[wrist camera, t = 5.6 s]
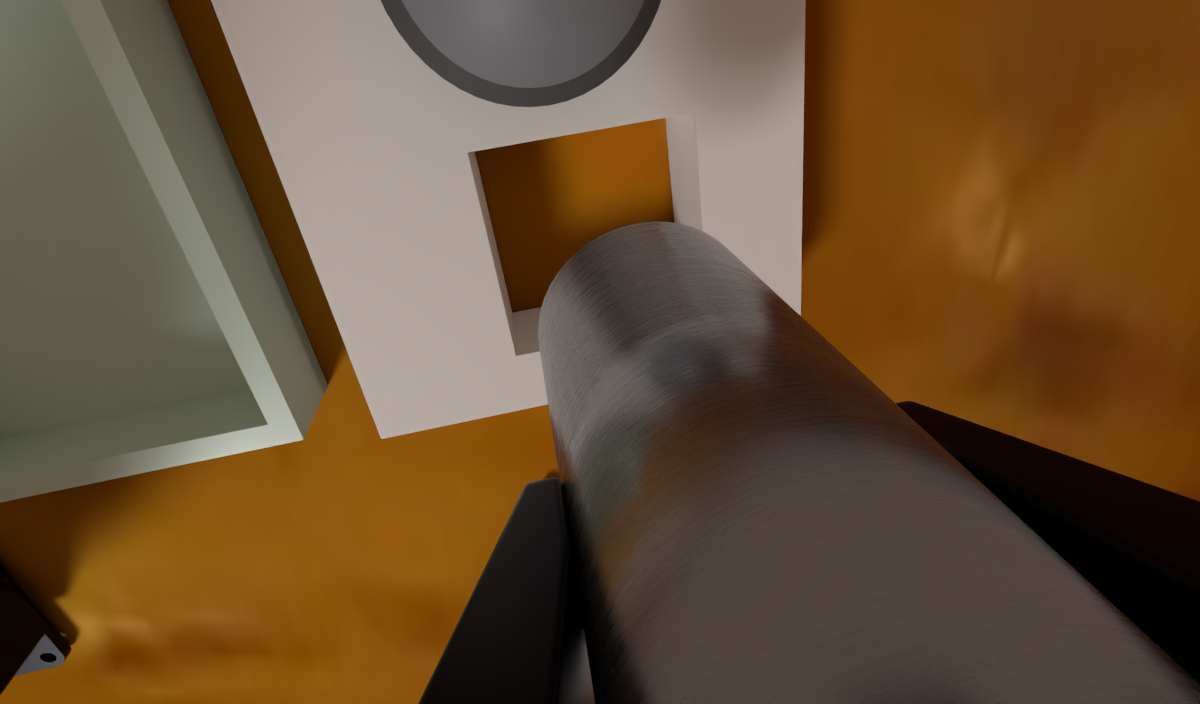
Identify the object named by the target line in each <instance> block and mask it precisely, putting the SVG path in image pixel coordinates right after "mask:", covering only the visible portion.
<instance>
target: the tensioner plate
mask: <svg viewBox="0 0 1200 704" xmlns="http://www.w3.org/2000/svg"><path fill="white" fill-rule="evenodd" d="M211 2H212V4H213V7H214V9H215V12H216V15H217V17H218V20H219V22H220V25H221V27H222V30H223V33H224V35H225V38H226V40H227V43H228V46H229V48H230V51H231V53H232V56H233V58H234V61H235V64H236V66H237V69H238V71H239V74H240V76H241V79H242V82H243V84H244V87H245V89H246V92H247V94H248V97H249V100H250V102H251V105H252V107H253V110H254V112H255V115H256V118H257V120H258V123H259V125H260V128H261V131H262V133H263V136H264V138H265V141H266V143H267V146H268V149H269V151H270V154H271V156H272V159H273V161H274V164H275V167H276V169H277V172H278V174H279V177H280V179H281V182H282V185H283V187H284V190H285V192H286V195H287V198H288V200H289V203H290V205H291V208H292V210H293V213H294V216H295V218H296V221H297V223H298V226H299V228H300V231H301V234H302V236H303V239H304V241H305V244H306V246H307V249H308V252H309V254H310V257H311V259H312V262H313V265H314V267H315V270H316V272H317V275H318V277H319V280H320V283H321V285H322V288H323V290H324V293H325V295H326V298H327V301H328V303H329V306H330V308H331V311H332V313H333V316H334V319H335V321H336V324H337V326H338V329H339V331H340V334H341V337H342V339H343V342H344V344H345V347H346V350H347V352H348V355H349V357H350V360H351V362H352V365H353V368H354V370H355V373H356V375H357V378H358V380H359V383H360V386H361V388H362V391H363V393H364V396H365V398H366V401H367V404H368V406H369V409H370V411H371V414H372V417H373V419H374V422H375V424H376V427H377V429H378V432H379V435H380V437H381V439H384V438H389V437H394V436H398V435H403V434H408V433H413V432H418V431H422V430H427V429H432V428H437V427H441V426H446V425H451V424H456V423H461V422H465V421H470V420H475V419H480V418H485V417H489V416H494V415H499V414H504V413H508V412H513V411H518V410H523V409H528V408H532V407H537V406H542V405H547V404H548V400H547V393H546V387H545V381H544V374H543V368H542V362H541V355H540V349H539V341H538V323H539V316H540V310H541V307H538V308H533V309H528V310H523V311H518V312H513V313H512V309H511V305H510V301H509V296H508V292H507V288H506V283H505V279H504V275H503V271H502V266H501V262H500V258H499V253H498V249H497V245H496V241H495V236H494V232H493V228H492V223H491V219H490V215H489V210H488V206H487V202H486V198H485V193H484V189H483V185H482V180H481V176H480V172H479V168H478V163H477V159H476V155H475V151H480V150H486V149H491V148H497V147H503V146H508V145H514V144H520V143H525V142H531V141H536V140H542V139H548V138H553V137H559V136H565V135H570V134H576V133H582V132H587V131H593V130H599V129H604V128H610V127H616V126H621V125H627V124H633V123H638V122H644V121H649V120H655V119H661V118H665V119H666V131H667V142H668V154H669V165H670V177H671V189H672V200H673V212H674V223H679V224H683V225H687V226H690V227H693V228H696V229H698V230H700V231H703V232H705V233H707V234H709V235H710V236H712V237H713V238H715V239H716V240H718V241H719V242H721V243H722V244H723V245H724V246H725V247H726V248H727V249H728V250H730V251H731V252H732V253H733V254H734V255H735V256H736V257H737V258H738V259H739V260H740V261H741V262H743V263H744V264H745V265H746V266H747V267H748V268H749V269H750V270H751V271H752V272H753V273H754V274H756V275H757V276H758V277H759V278H760V279H761V280H762V281H763V282H764V283H765V284H766V285H768V286H769V287H770V288H771V289H772V290H773V291H774V292H775V293H776V294H777V295H778V296H779V297H781V298H782V299H783V300H784V301H785V302H786V303H787V304H788V305H789V306H790V307H791V308H792V309H794V310H795V311H796V312H797V313H798V314H799V315H800V316H801V262H802V198H803V134H804V71H805V7H806V0H211Z"/></svg>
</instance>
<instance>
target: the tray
mask: <svg viewBox="0 0 1200 704" xmlns="http://www.w3.org/2000/svg"><path fill="white" fill-rule="evenodd" d="M327 387H328V384H327V382H326V379H325V377H324V374H323V372H322V370H321V367H320V365H319V363H318V360H317V358H316V355H315V353H314V351H313V348H312V346H311V343H310V341H309V339H308V336H307V334H306V331H305V329H304V327H303V324H302V322H301V319H300V317H299V315H298V312H297V310H296V307H295V305H294V303H293V300H292V298H291V296H290V293H289V291H288V288H287V286H286V284H285V281H284V279H283V276H282V274H281V272H280V269H279V267H278V264H277V262H276V260H275V257H274V255H273V252H272V250H271V248H270V245H269V243H268V240H267V238H266V236H265V233H264V231H263V229H262V226H261V224H260V221H259V219H258V217H257V214H256V212H255V209H254V207H253V205H252V202H251V200H250V197H249V195H248V193H247V190H246V188H245V185H244V183H243V181H242V178H241V176H240V173H239V171H238V169H237V166H236V164H235V162H234V159H233V157H232V154H231V152H230V150H229V147H228V145H227V142H226V140H225V138H224V135H223V133H222V130H221V128H220V126H219V123H218V121H217V118H216V116H215V114H214V111H213V109H212V106H211V104H210V102H209V99H208V97H207V95H206V92H205V90H204V87H203V85H202V83H201V80H200V78H199V75H198V73H197V71H196V68H195V66H194V63H193V61H192V59H191V56H190V54H189V51H188V49H187V47H186V44H185V42H184V39H183V37H182V35H181V32H180V30H179V28H178V25H177V23H176V20H175V18H174V16H173V13H172V11H171V8H170V6H169V4H168V1H167V0H0V503H1V502H6V501H10V500H15V499H20V498H25V497H30V496H35V495H39V494H44V493H49V492H54V491H59V490H63V489H68V488H73V487H78V486H83V485H88V484H92V483H97V482H102V481H107V480H112V479H117V478H121V477H126V476H131V475H136V474H141V473H146V472H150V471H155V470H160V469H165V468H170V467H175V466H179V465H184V464H189V463H194V462H199V461H204V460H208V459H213V458H218V457H223V456H228V455H232V454H237V453H242V452H247V451H252V450H257V449H261V448H266V447H271V446H276V445H281V444H286V443H290V442H295V441H300V440H304V438H305V436H306V433H307V431H308V429H309V427H310V424H311V422H312V420H313V418H314V416H315V413H316V411H317V409H318V407H319V404H320V402H321V400H322V398H323V396H324V393H325V391H326V389H327Z"/></svg>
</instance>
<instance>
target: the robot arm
mask: <svg viewBox="0 0 1200 704" xmlns="http://www.w3.org/2000/svg"><path fill="white" fill-rule="evenodd" d="M896 404H897V405H898V406H899V407H900V408H901V409H902V410H903V411H904V412H905V413H906V414H908V415H909V416H910V417H911V418H912V419H913V420H914V421H915V422H916V423H917V424H918V425H919V426H921V427H922V428H923V429H924V430H925V431H926V432H927V433H928V434H929V435H930V436H931V437H932V438H934V439H935V440H936V441H937V442H938V443H939V444H940V445H941V446H942V447H943V448H944V449H945V450H947V451H948V452H949V453H950V454H951V455H952V456H953V457H954V458H955V459H956V460H957V461H959V462H960V463H961V464H962V465H963V466H964V467H965V468H966V469H967V470H968V471H969V472H970V473H972V474H973V475H974V476H975V477H976V478H977V479H978V480H979V481H980V482H981V483H982V484H983V485H985V486H986V487H987V488H988V489H989V490H990V491H991V492H992V493H993V494H994V495H995V496H996V497H998V498H999V499H1000V500H1001V501H1002V502H1003V503H1004V504H1005V505H1006V506H1007V507H1008V508H1010V509H1011V510H1012V511H1013V512H1014V513H1015V514H1016V515H1017V516H1018V517H1019V518H1020V519H1021V520H1023V521H1024V522H1025V523H1026V524H1027V525H1028V526H1029V527H1030V528H1031V529H1032V530H1033V531H1034V532H1036V533H1037V534H1038V535H1039V536H1040V537H1041V538H1042V539H1043V540H1044V541H1045V542H1046V543H1048V544H1049V545H1050V546H1051V547H1052V548H1053V549H1054V550H1055V551H1056V552H1057V553H1058V554H1059V555H1061V556H1062V557H1063V558H1064V559H1065V560H1066V561H1067V562H1068V563H1069V564H1070V565H1071V566H1072V567H1074V568H1075V569H1076V570H1077V571H1078V572H1079V573H1080V574H1081V575H1082V576H1083V577H1084V578H1085V579H1087V580H1088V581H1089V582H1090V583H1091V584H1092V585H1093V586H1094V587H1095V588H1096V589H1097V590H1099V591H1100V592H1101V593H1102V594H1103V595H1104V596H1105V597H1106V598H1107V599H1108V600H1109V601H1110V602H1112V603H1113V604H1114V605H1115V606H1116V607H1117V608H1118V609H1119V610H1120V611H1121V612H1122V613H1123V614H1125V615H1126V616H1127V617H1128V618H1129V619H1130V620H1131V621H1132V622H1133V623H1134V624H1135V625H1136V626H1138V627H1139V628H1140V629H1141V630H1142V631H1143V632H1144V633H1145V634H1146V635H1147V636H1148V637H1150V638H1151V639H1152V640H1153V641H1154V642H1155V643H1156V644H1157V645H1158V646H1159V647H1160V648H1161V649H1163V650H1164V651H1165V652H1166V653H1167V654H1168V655H1169V656H1170V657H1171V658H1172V659H1173V660H1174V661H1176V662H1177V663H1178V664H1179V665H1180V666H1181V667H1182V668H1183V669H1184V670H1185V671H1186V672H1187V673H1189V674H1190V675H1191V676H1192V677H1193V678H1194V679H1195V680H1196V681H1197V682H1198V683H1199V684H1200V502H1199V501H1196V500H1193V499H1191V498H1188V497H1185V496H1182V495H1179V494H1176V493H1173V492H1170V491H1168V490H1165V489H1162V488H1159V487H1156V486H1153V485H1150V484H1148V483H1145V482H1142V481H1139V480H1136V479H1133V478H1130V477H1127V476H1125V475H1122V474H1119V473H1116V472H1113V471H1110V470H1107V469H1105V468H1102V467H1099V466H1096V465H1093V464H1090V463H1087V462H1084V461H1082V460H1079V459H1076V458H1073V457H1070V456H1067V455H1064V454H1062V453H1059V452H1056V451H1053V450H1050V449H1047V448H1044V447H1041V446H1039V445H1036V444H1033V443H1030V442H1027V441H1024V440H1021V439H1018V438H1016V437H1013V436H1010V435H1007V434H1004V433H1001V432H998V431H996V430H993V429H990V428H987V427H984V426H981V425H978V424H975V423H973V422H970V421H967V420H964V419H961V418H958V417H955V416H953V415H950V414H947V413H944V412H941V411H938V410H935V409H932V408H930V407H927V406H924V405H921V404H918V403H915V402H912V401H905V402H900V403H896ZM70 651H71V647H70V645H69V644H68V643H67V642H66V640H65V639H64V638H63V637H62V636H61V635H60V633H59V632H58V631H57V630H56V629H55V628H54V626H53V625H52V624H51V623H50V622H49V621H48V620H47V618H46V617H45V616H44V615H43V614H42V613H41V611H40V610H39V609H38V608H37V607H36V606H35V604H34V603H33V602H32V601H31V600H30V599H29V597H28V596H27V595H26V594H25V593H24V592H23V590H22V589H21V588H20V587H19V586H18V585H17V584H16V582H15V581H14V580H13V579H12V578H11V577H10V575H9V574H8V573H7V572H6V571H5V570H4V568H3V567H2V566H1V565H0V695H1V694H2V692H3V691H4V690H5V688H6V687H7V685H8V684H9V683H10V681H11V680H12V679H13V677H14V676H16V675H20V674H24V673H29V672H33V671H38V670H42V669H46V668H51V667H55V666H58V665H61V664H62V663H63V662H64V661H65V659H66V658H67V656H68V655H69V653H70ZM419 704H595V699H594V692H593V686H592V680H591V673H590V667H589V661H588V654H587V648H586V641H585V635H584V629H583V622H582V616H581V609H580V602H579V595H578V588H577V579H576V571H575V563H574V557H573V550H572V544H571V538H570V532H569V525H568V519H567V513H566V507H565V500H564V494H563V488H562V483H561V480H560V479H559V478H557V477H552V478H548V479H543V480H538V481H534V482H530V483H528V484H527V485H526V486H525V487H524V489H523V491H522V493H521V495H520V497H519V499H518V501H517V504H516V506H515V508H514V510H513V512H512V514H511V516H510V518H509V520H508V522H507V524H506V526H505V528H504V530H503V532H502V534H501V536H500V538H499V540H498V542H497V544H496V546H495V548H494V550H493V553H492V555H491V557H490V559H489V561H488V563H487V565H486V567H485V569H484V571H483V573H482V575H481V577H480V579H479V581H478V583H477V585H476V587H475V589H474V591H473V593H472V595H471V597H470V600H469V602H468V604H467V606H466V608H465V610H464V612H463V614H462V616H461V618H460V620H459V622H458V624H457V626H456V628H455V630H454V632H453V634H452V636H451V638H450V640H449V642H448V644H447V646H446V649H445V651H444V653H443V655H442V657H441V659H440V661H439V663H438V665H437V667H436V669H435V671H434V673H433V675H432V677H431V679H430V681H429V683H428V685H427V687H426V689H425V691H424V693H423V696H422V698H421V700H420V702H419Z"/></svg>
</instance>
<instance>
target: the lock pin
mask: <svg viewBox="0 0 1200 704" xmlns="http://www.w3.org/2000/svg"><path fill="white" fill-rule="evenodd" d="M538 341H539V349H540V355H541V362H542V368H543V374H544V381H545V387H546V393H547V400H548V406H549V413H550V419H551V425H552V432H553V438H554V444H555V451H556V457H557V463H558V470H559V476H560V480H561V483H562V488H563V494H564V500H565V507H566V513H567V519H568V525H569V532H570V538H571V544H572V550H573V557H574V563H575V571H576V579H577V588H578V595H579V602H580V609H581V616H582V622H583V629H584V635H585V641H586V648H587V654H588V661H589V667H590V673H591V680H592V686H593V692H594V699H595V704H1200V684H1199V683H1198V682H1197V681H1196V680H1195V679H1194V678H1193V677H1192V676H1191V675H1190V674H1189V673H1187V672H1186V671H1185V670H1184V669H1183V668H1182V667H1181V666H1180V665H1179V664H1178V663H1177V662H1176V661H1174V660H1173V659H1172V658H1171V657H1170V656H1169V655H1168V654H1167V653H1166V652H1165V651H1164V650H1163V649H1161V648H1160V647H1159V646H1158V645H1157V644H1156V643H1155V642H1154V641H1153V640H1152V639H1151V638H1150V637H1148V636H1147V635H1146V634H1145V633H1144V632H1143V631H1142V630H1141V629H1140V628H1139V627H1138V626H1136V625H1135V624H1134V623H1133V622H1132V621H1131V620H1130V619H1129V618H1128V617H1127V616H1126V615H1125V614H1123V613H1122V612H1121V611H1120V610H1119V609H1118V608H1117V607H1116V606H1115V605H1114V604H1113V603H1112V602H1110V601H1109V600H1108V599H1107V598H1106V597H1105V596H1104V595H1103V594H1102V593H1101V592H1100V591H1099V590H1097V589H1096V588H1095V587H1094V586H1093V585H1092V584H1091V583H1090V582H1089V581H1088V580H1087V579H1085V578H1084V577H1083V576H1082V575H1081V574H1080V573H1079V572H1078V571H1077V570H1076V569H1075V568H1074V567H1072V566H1071V565H1070V564H1069V563H1068V562H1067V561H1066V560H1065V559H1064V558H1063V557H1062V556H1061V555H1059V554H1058V553H1057V552H1056V551H1055V550H1054V549H1053V548H1052V547H1051V546H1050V545H1049V544H1048V543H1046V542H1045V541H1044V540H1043V539H1042V538H1041V537H1040V536H1039V535H1038V534H1037V533H1036V532H1034V531H1033V530H1032V529H1031V528H1030V527H1029V526H1028V525H1027V524H1026V523H1025V522H1024V521H1023V520H1021V519H1020V518H1019V517H1018V516H1017V515H1016V514H1015V513H1014V512H1013V511H1012V510H1011V509H1010V508H1008V507H1007V506H1006V505H1005V504H1004V503H1003V502H1002V501H1001V500H1000V499H999V498H998V497H996V496H995V495H994V494H993V493H992V492H991V491H990V490H989V489H988V488H987V487H986V486H985V485H983V484H982V483H981V482H980V481H979V480H978V479H977V478H976V477H975V476H974V475H973V474H972V473H970V472H969V471H968V470H967V469H966V468H965V467H964V466H963V465H962V464H961V463H960V462H959V461H957V460H956V459H955V458H954V457H953V456H952V455H951V454H950V453H949V452H948V451H947V450H945V449H944V448H943V447H942V446H941V445H940V444H939V443H938V442H937V441H936V440H935V439H934V438H932V437H931V436H930V435H929V434H928V433H927V432H926V431H925V430H924V429H923V428H922V427H921V426H919V425H918V424H917V423H916V422H915V421H914V420H913V419H912V418H911V417H910V416H909V415H908V414H906V413H905V412H904V411H903V410H902V409H901V408H900V407H899V406H898V405H897V404H896V403H894V402H893V401H892V400H891V399H890V398H889V397H888V396H887V395H886V394H885V393H884V392H883V391H881V390H880V389H879V388H878V387H877V386H876V385H875V384H874V383H873V382H872V381H871V380H870V379H868V378H867V377H866V376H865V375H864V374H863V373H862V372H861V371H860V370H859V369H858V368H857V367H855V366H854V365H853V364H852V363H851V362H850V361H849V360H848V359H847V358H846V357H845V356H843V355H842V354H841V353H840V352H839V351H838V350H837V349H836V348H835V347H834V346H833V345H832V344H830V343H829V342H828V341H827V340H826V339H825V338H824V337H823V336H822V335H821V334H820V333H819V332H817V331H816V330H815V329H814V328H813V327H812V326H811V325H810V324H809V323H808V322H807V321H805V320H804V319H803V318H802V317H801V316H800V315H799V314H798V313H797V312H796V311H795V310H794V309H792V308H791V307H790V306H789V305H788V304H787V303H786V302H785V301H784V300H783V299H782V298H781V297H779V296H778V295H777V294H776V293H775V292H774V291H773V290H772V289H771V288H770V287H769V286H768V285H766V284H765V283H764V282H763V281H762V280H761V279H760V278H759V277H758V276H757V275H756V274H754V273H753V272H752V271H751V270H750V269H749V268H748V267H747V266H746V265H745V264H744V263H743V262H741V261H740V260H739V259H738V258H737V257H736V256H735V255H734V254H733V253H732V252H731V251H730V250H728V249H727V248H726V247H725V246H724V245H723V244H722V243H721V242H719V241H718V240H716V239H715V238H713V237H712V236H710V235H709V234H707V233H705V232H703V231H700V230H698V229H696V228H693V227H690V226H687V225H683V224H679V223H672V222H652V221H651V222H643V223H635V224H631V225H627V226H623V227H620V228H617V229H615V230H612V231H610V232H607V233H605V234H603V235H601V236H599V237H598V238H596V239H594V240H592V241H591V242H589V243H588V244H586V245H585V246H584V247H582V248H581V249H580V250H578V251H577V252H576V253H575V254H574V255H573V256H572V257H571V258H570V259H569V260H568V261H567V262H566V263H565V264H564V266H563V267H562V268H561V269H560V270H559V272H558V273H557V275H556V276H555V278H554V280H553V281H552V283H551V284H550V286H549V289H548V291H547V293H546V295H545V297H544V300H543V304H542V307H541V310H540V316H539V323H538Z"/></svg>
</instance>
